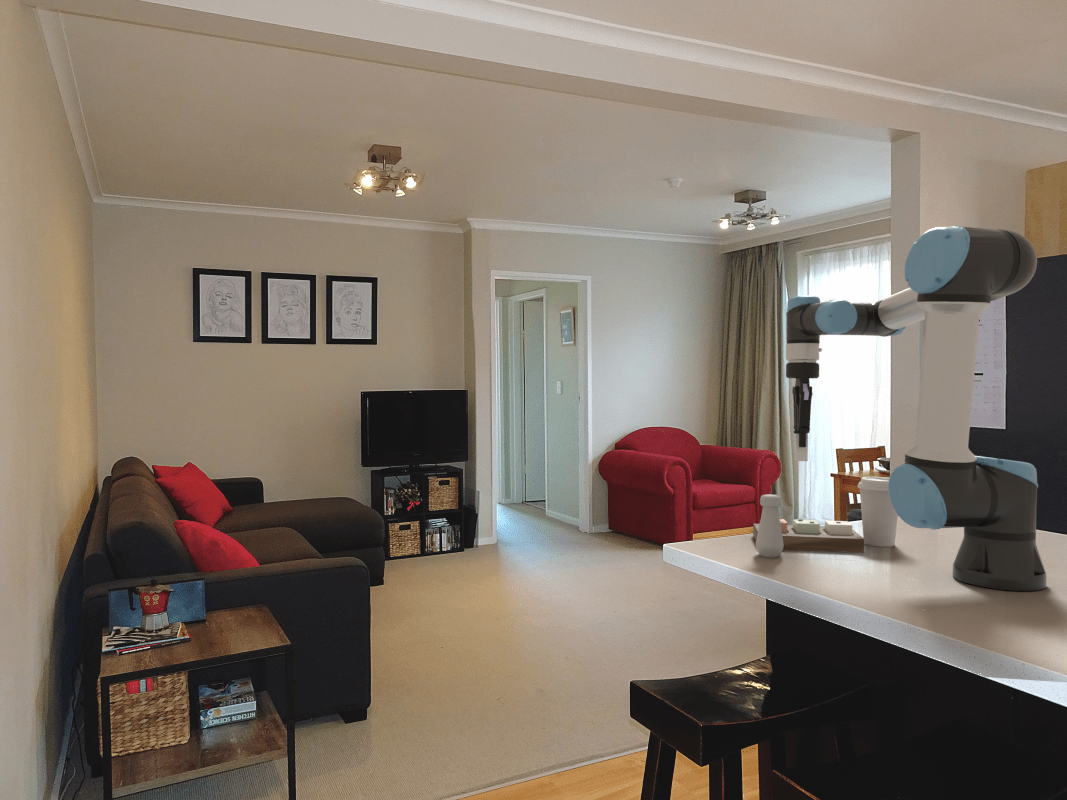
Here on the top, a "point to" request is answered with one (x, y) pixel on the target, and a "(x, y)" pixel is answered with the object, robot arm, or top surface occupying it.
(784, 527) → the tile
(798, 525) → the pale green square block
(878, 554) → the top surface
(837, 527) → the cream square block
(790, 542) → the button board
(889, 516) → the coffee cup
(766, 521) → the salt shaker
